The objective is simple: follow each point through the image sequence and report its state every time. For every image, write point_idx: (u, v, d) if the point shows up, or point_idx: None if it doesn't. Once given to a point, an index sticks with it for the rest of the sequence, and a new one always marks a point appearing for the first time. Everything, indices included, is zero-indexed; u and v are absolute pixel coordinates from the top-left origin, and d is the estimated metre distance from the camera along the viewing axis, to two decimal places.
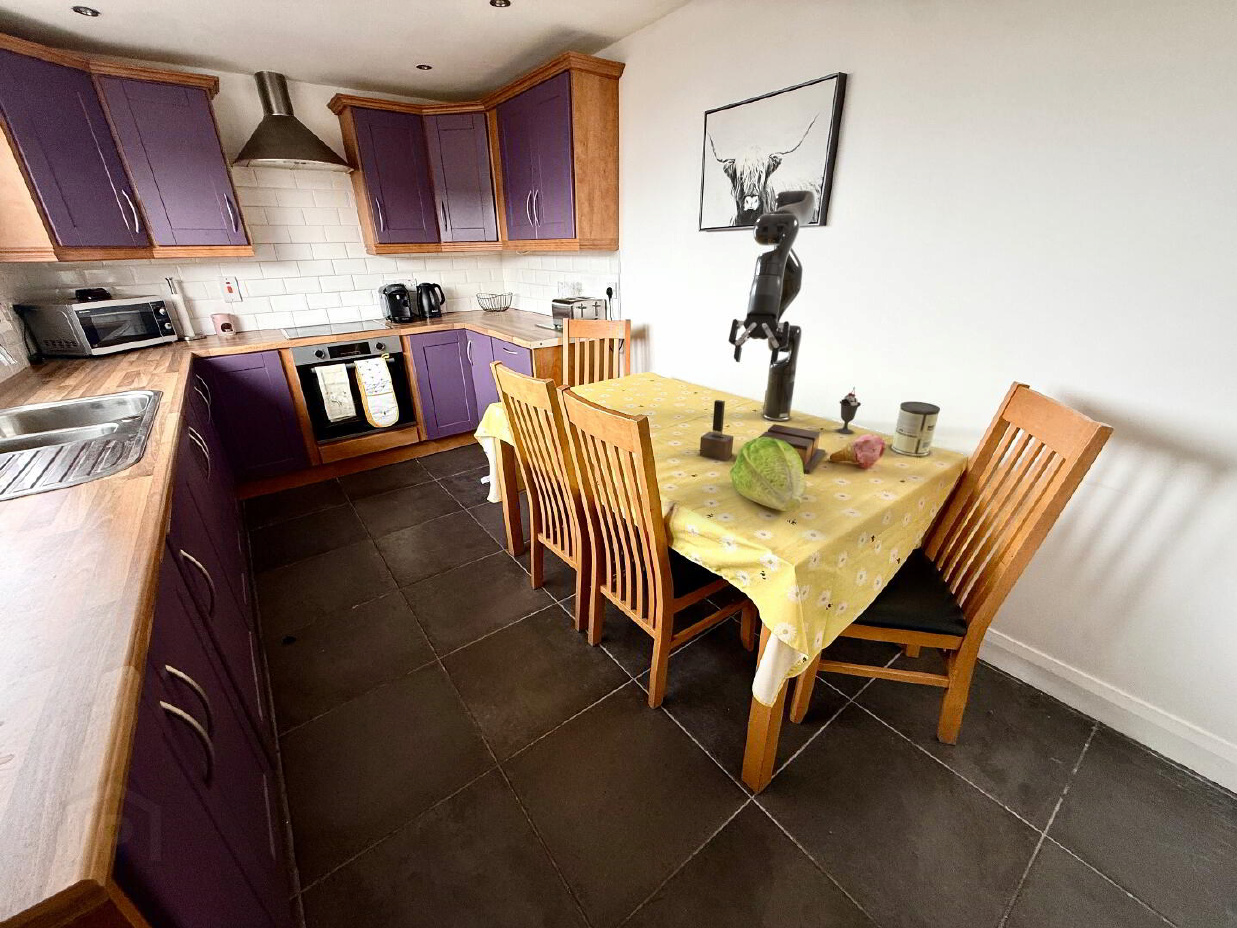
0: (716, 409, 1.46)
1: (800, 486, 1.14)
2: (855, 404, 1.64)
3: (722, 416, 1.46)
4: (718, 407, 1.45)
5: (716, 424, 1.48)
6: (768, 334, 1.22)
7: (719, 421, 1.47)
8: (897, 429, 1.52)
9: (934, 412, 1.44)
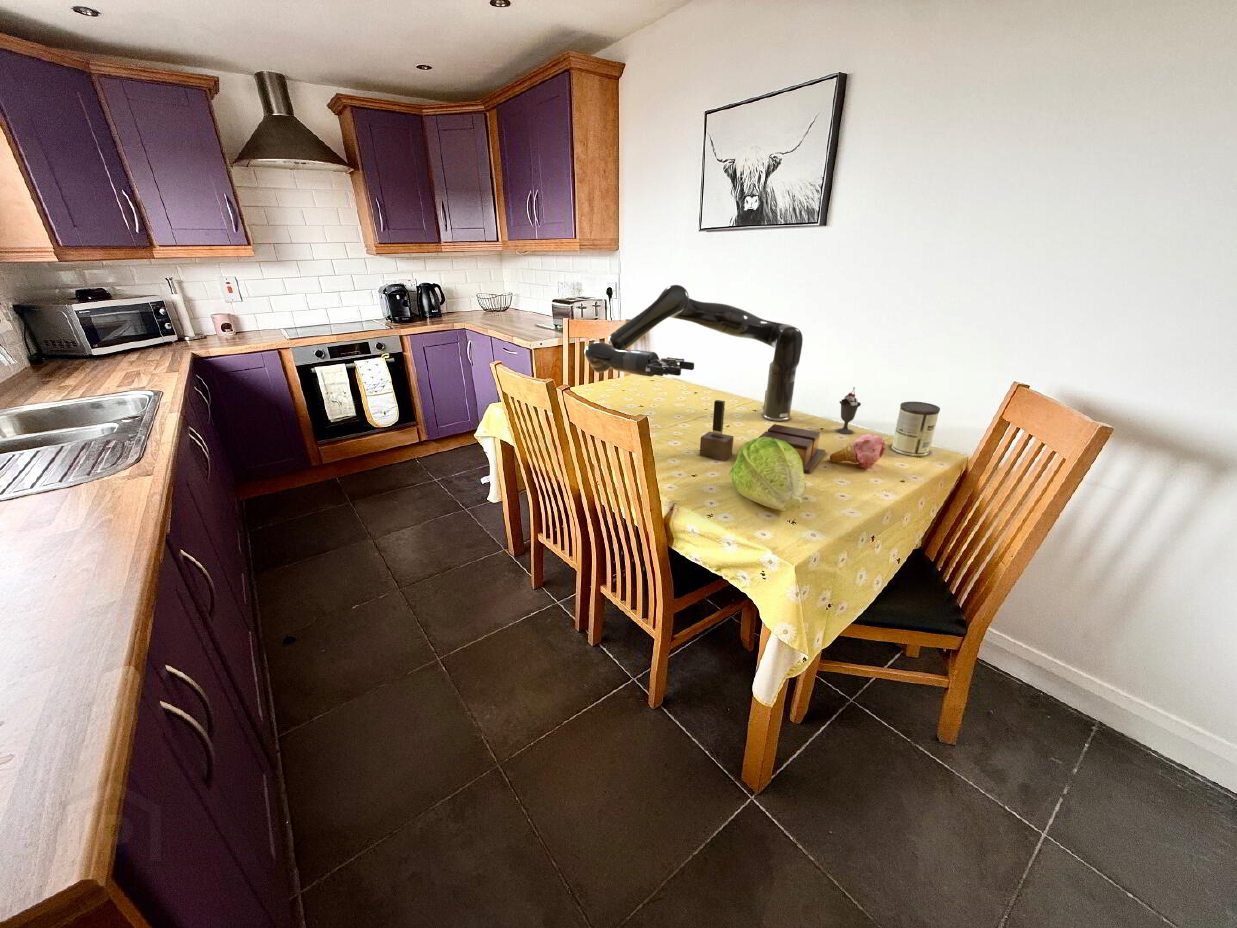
0: (716, 409, 1.46)
1: (801, 486, 1.14)
2: (855, 404, 1.64)
3: (722, 416, 1.46)
4: (718, 407, 1.45)
5: (716, 424, 1.48)
6: None
7: (719, 421, 1.47)
8: (897, 429, 1.52)
9: (934, 412, 1.44)
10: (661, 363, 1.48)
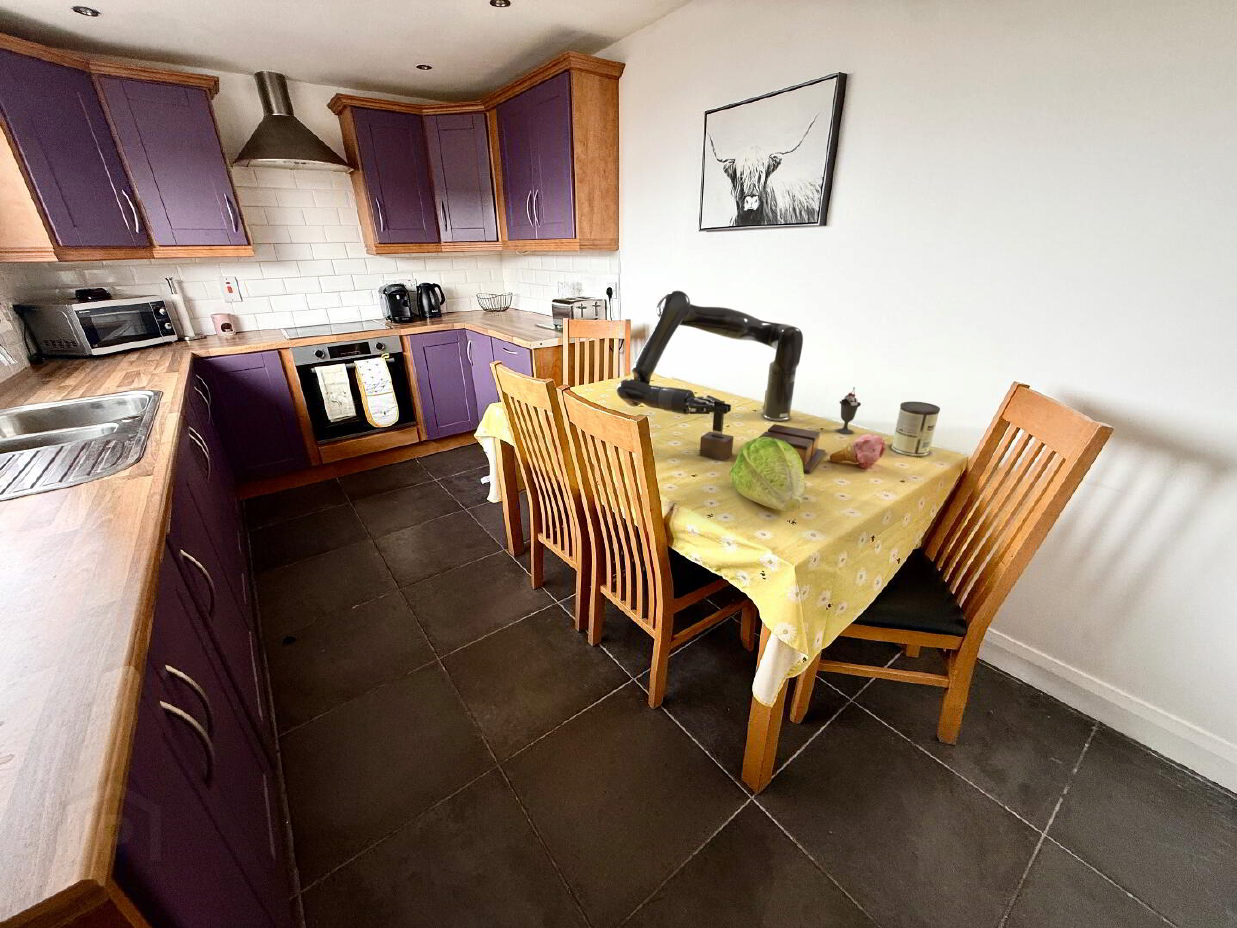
0: None
1: (801, 486, 1.14)
2: (855, 404, 1.64)
3: (722, 416, 1.46)
4: None
5: (716, 424, 1.48)
6: None
7: (719, 421, 1.47)
8: (897, 429, 1.52)
9: (934, 412, 1.44)
10: (704, 402, 1.46)
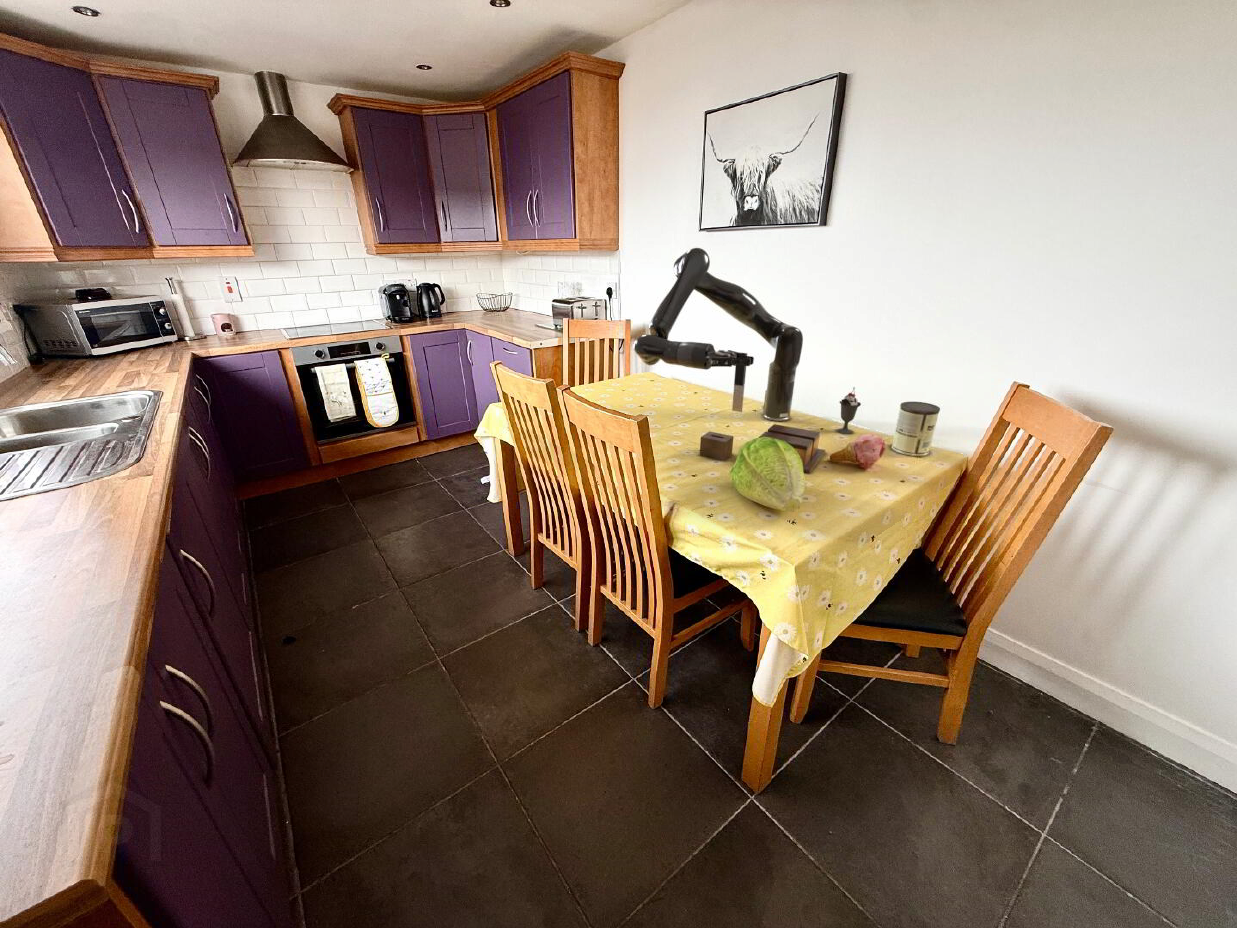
0: None
1: (801, 486, 1.14)
2: (855, 404, 1.64)
3: (744, 369, 1.41)
4: None
5: (738, 378, 1.42)
6: None
7: (742, 375, 1.41)
8: (897, 429, 1.52)
9: (934, 412, 1.44)
10: (726, 354, 1.41)
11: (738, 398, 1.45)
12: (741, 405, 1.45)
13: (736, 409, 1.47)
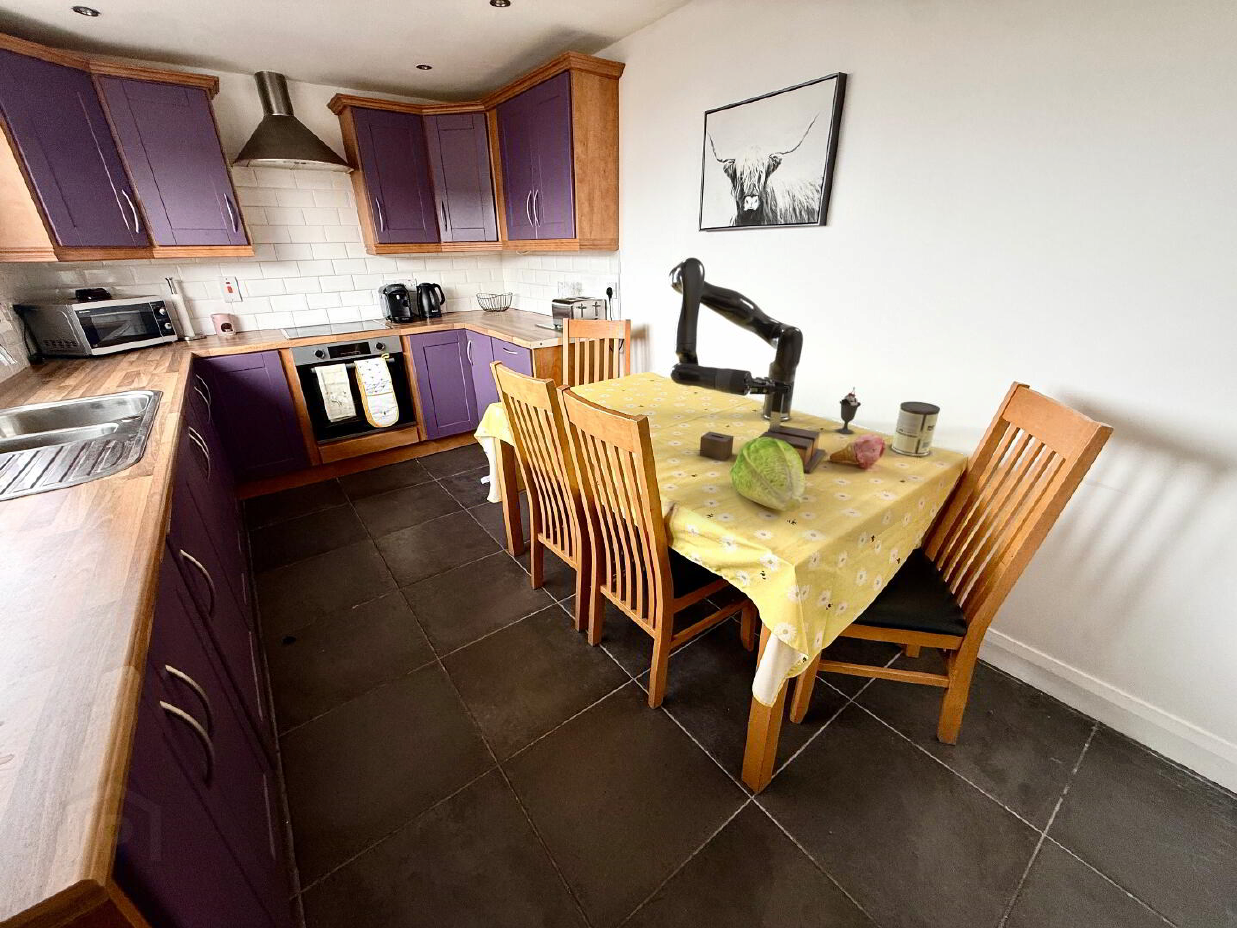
0: None
1: (801, 486, 1.14)
2: (855, 404, 1.64)
3: (782, 397, 1.45)
4: None
5: (776, 405, 1.46)
6: None
7: (779, 402, 1.45)
8: (897, 429, 1.52)
9: (934, 412, 1.44)
10: (764, 382, 1.45)
11: (775, 424, 1.49)
12: (778, 431, 1.49)
13: None
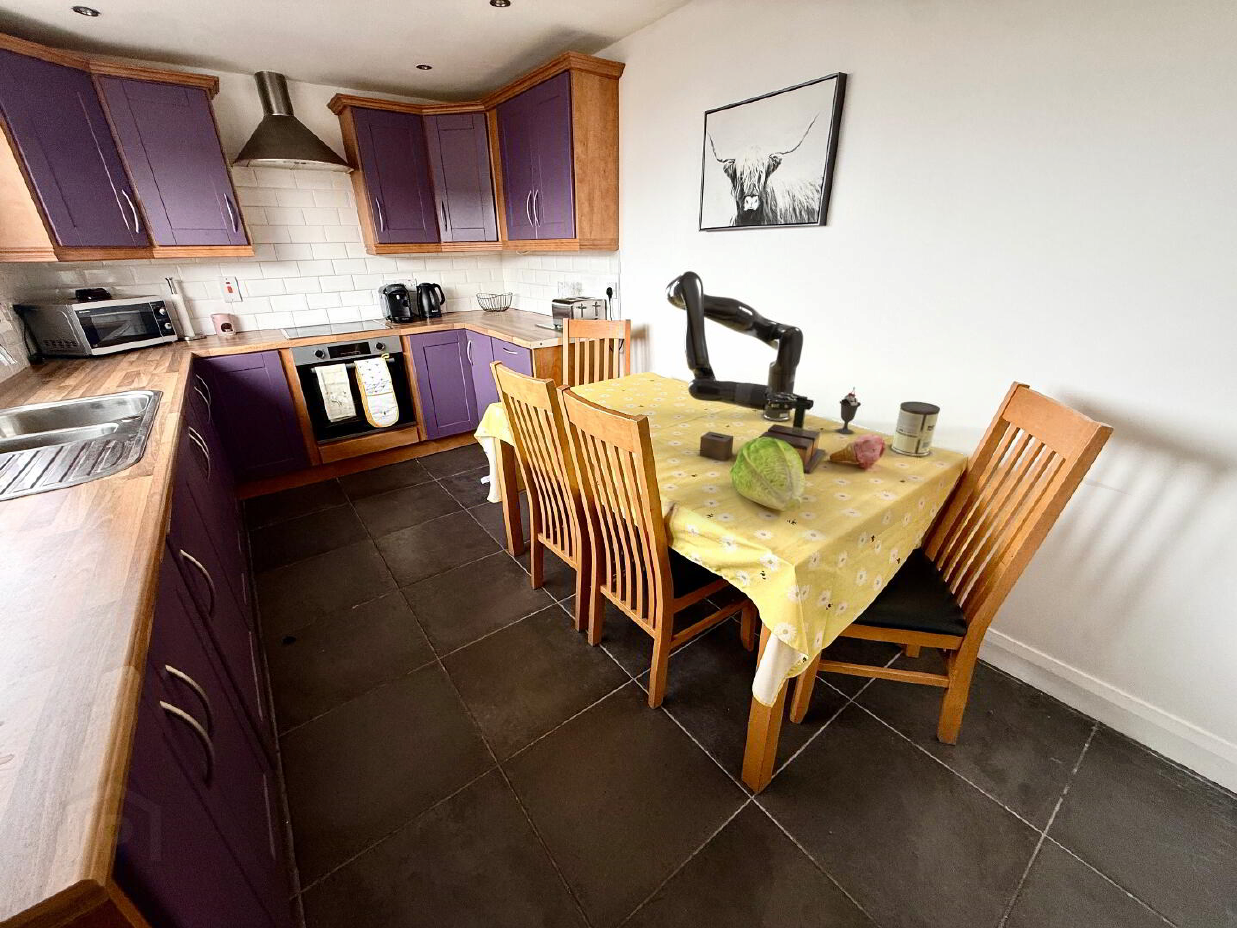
0: None
1: (801, 486, 1.14)
2: (855, 404, 1.64)
3: (804, 412, 1.43)
4: None
5: (797, 420, 1.44)
6: None
7: (801, 418, 1.43)
8: (897, 429, 1.52)
9: (934, 412, 1.44)
10: (786, 397, 1.43)
11: None
12: None
13: None
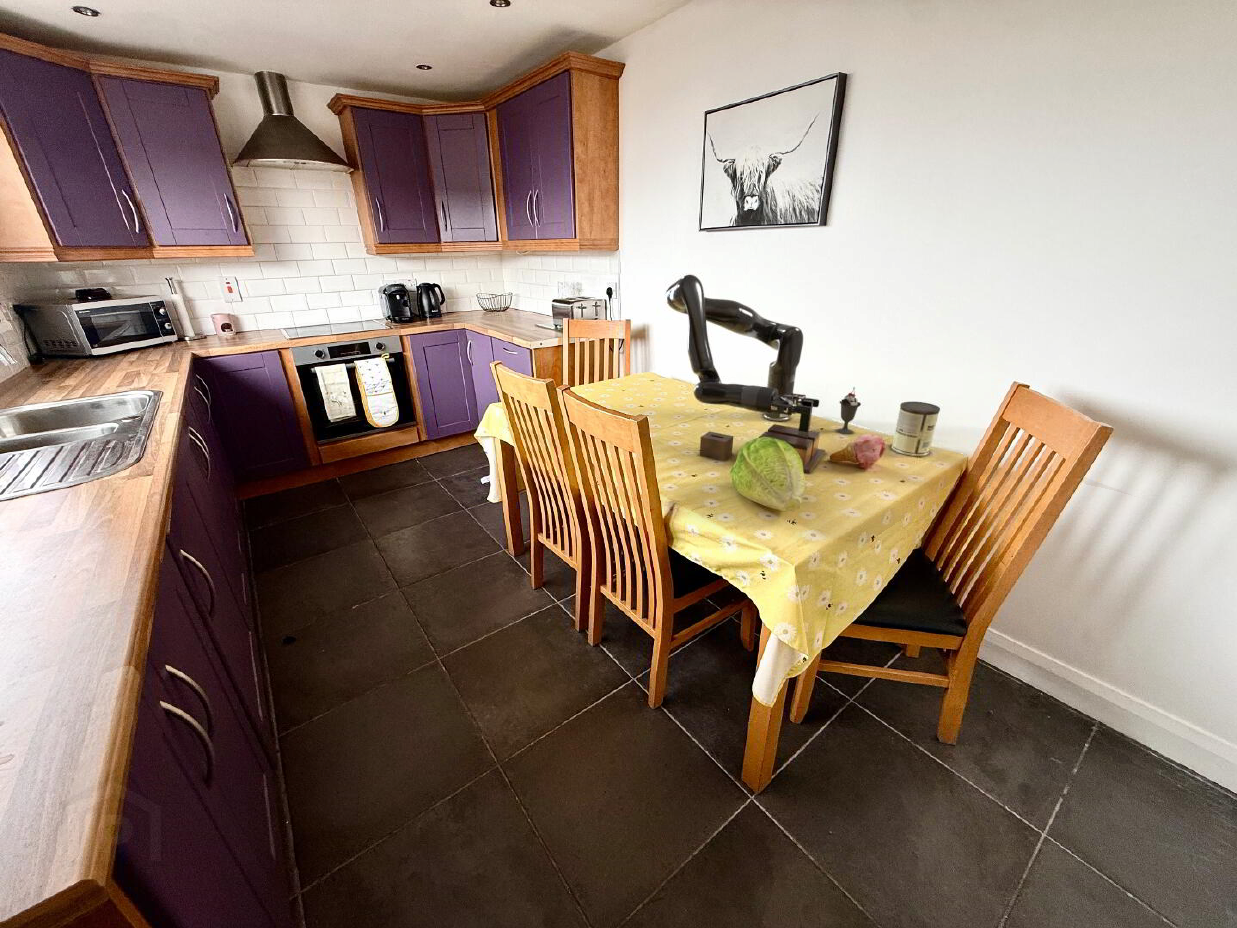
0: None
1: (801, 486, 1.14)
2: (855, 404, 1.64)
3: (810, 416, 1.42)
4: None
5: (803, 425, 1.43)
6: None
7: (807, 422, 1.43)
8: (897, 429, 1.52)
9: (934, 412, 1.44)
10: (787, 401, 1.41)
11: None
12: None
13: None
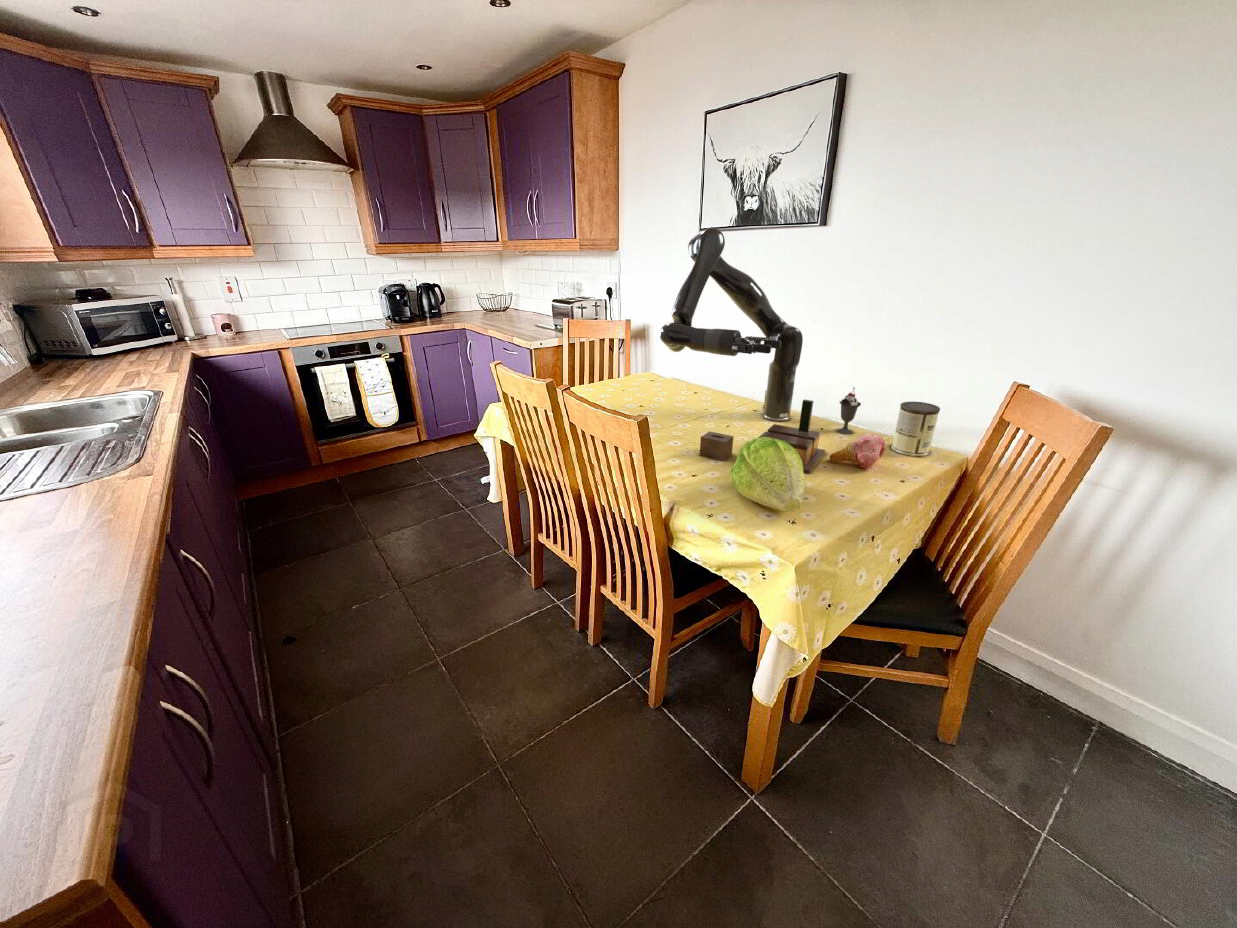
0: (804, 409, 1.42)
1: (801, 486, 1.14)
2: (855, 404, 1.64)
3: (810, 416, 1.42)
4: (806, 407, 1.41)
5: (803, 425, 1.43)
6: None
7: (807, 422, 1.43)
8: (897, 429, 1.52)
9: (934, 412, 1.44)
10: (748, 341, 1.41)
11: None
12: None
13: None
